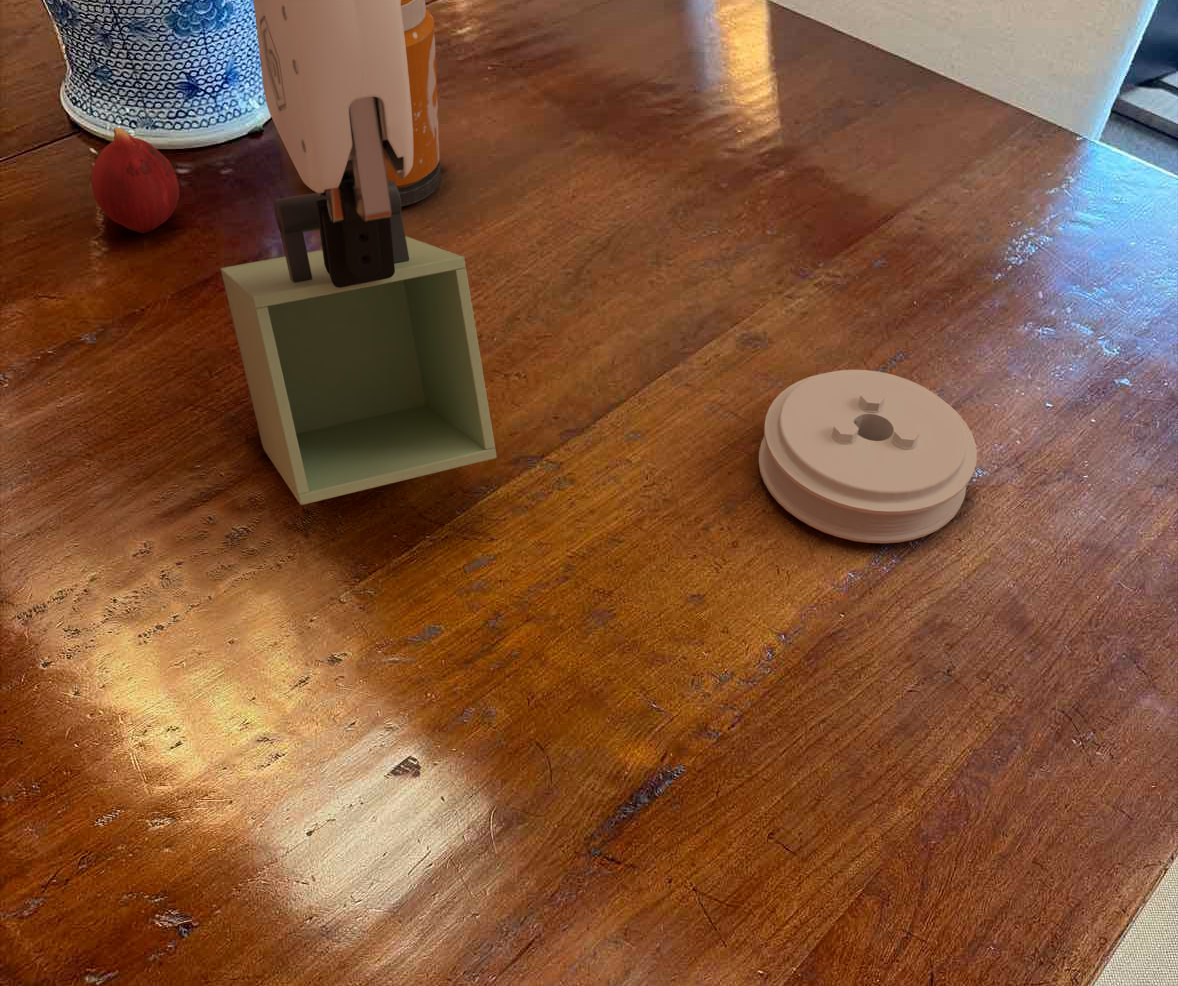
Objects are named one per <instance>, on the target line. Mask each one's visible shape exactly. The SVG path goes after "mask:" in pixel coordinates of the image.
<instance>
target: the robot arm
mask: <svg viewBox="0 0 1178 986" xmlns="http://www.w3.org/2000/svg"><path fill="white" fill-rule="evenodd" d="M253 9H254V10H253V11H254V18H255V26H256V34H257V42H258V51H259V61H260V71H261V79H262V86H263V94H264V99H265V103H266V106H267V109H268V112H269V115H270V117H271V119H272V122H273V124H274V127H275V128H276V130H277V133H278V135H279V137H280V139H281V141H282V144H283V146H284V148H285V150H286V152H287V153H288V156H289V157H290V160H291V161H292V164H293V166H294V167H295V169H296V171H297V174H298V175H299V177H300V179H301V181H302V183H303V184H304V185H305V186H306V187H308V188H309V189H310V190H312V191H313V192H314V193H318V195H319V197H326V199H324V200H319V201H316V206H317V213H318V221H319V228H320V230H319V235H320V242H321V250H323V258H324V265H325V268H326V270H327V272H328V273H329V274H330V278H331V281H332V283H333V285H334V286H335V287H338V288H342V287H347V286H352V285H357V284H362V283H367V282H372V281H377V280H383V279H388V278H390V277H392V276H393V275H394V273H395V266H394V255H393V244H392V233H391V221H390V217H391V205H390V198H389V191H388V175H387V159H388V161H389V162H390V164H391V166H392V167H393V169H394V171H395V172H396V174H397V175H398V176H399V177H400V178H405V177H406V176H407V175H408V173H409V172H410V171H411V169H412V167H413V123H412V109H411V97H410V86H409V75H408V64H407V55H406V46H405V36H404V28H403V19H402V11H401V0H253Z"/></svg>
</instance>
